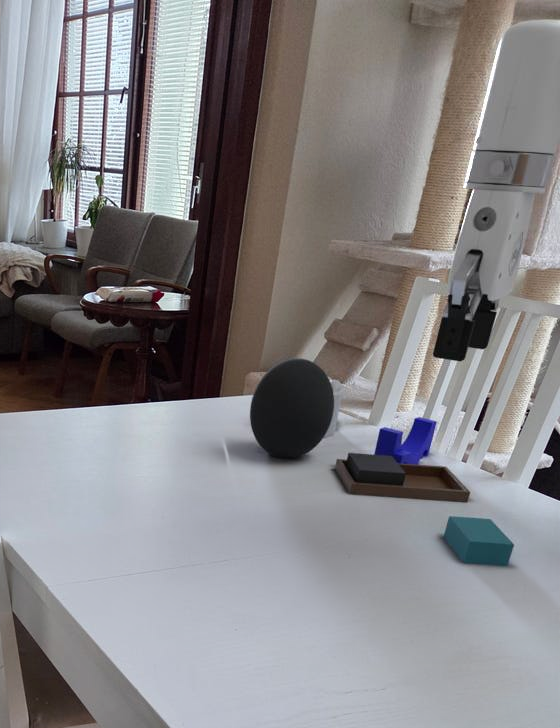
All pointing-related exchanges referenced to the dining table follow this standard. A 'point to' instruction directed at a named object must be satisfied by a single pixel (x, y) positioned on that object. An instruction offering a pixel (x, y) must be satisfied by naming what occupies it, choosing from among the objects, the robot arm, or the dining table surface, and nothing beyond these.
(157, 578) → the dining table surface
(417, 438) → the blue curved cradle
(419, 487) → the frame
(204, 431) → the dining table surface
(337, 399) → the lumpy-topped squat cylinder
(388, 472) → the back pad
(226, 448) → the dining table surface
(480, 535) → the teal rectangular block
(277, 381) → the decorative egg
